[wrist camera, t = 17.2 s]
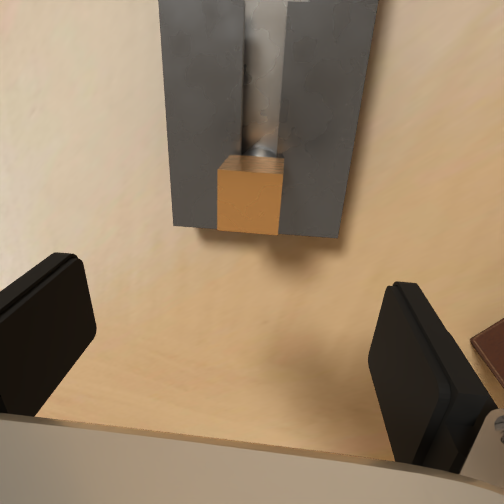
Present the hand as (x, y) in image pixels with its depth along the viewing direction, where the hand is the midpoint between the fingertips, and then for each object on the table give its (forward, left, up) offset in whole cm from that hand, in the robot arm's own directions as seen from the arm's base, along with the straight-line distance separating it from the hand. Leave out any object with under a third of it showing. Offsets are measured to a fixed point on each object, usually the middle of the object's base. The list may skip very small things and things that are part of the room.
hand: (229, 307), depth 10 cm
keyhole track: (+1, -7, -22) cm, 23 cm away
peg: (+1, +1, -21) cm, 21 cm away
